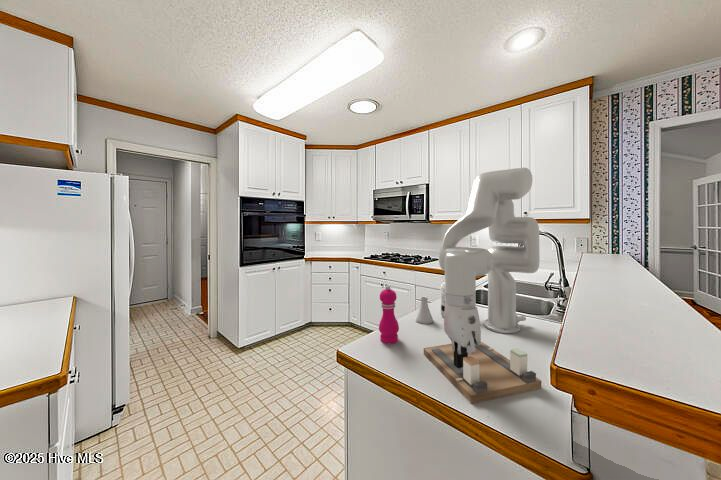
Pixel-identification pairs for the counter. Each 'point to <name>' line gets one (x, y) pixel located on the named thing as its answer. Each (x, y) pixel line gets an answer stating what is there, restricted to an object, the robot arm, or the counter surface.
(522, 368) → the sage-capped tab
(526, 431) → the counter surface
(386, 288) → the pepper mill
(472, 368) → the terracotta-capped tab
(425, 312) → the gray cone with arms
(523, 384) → the wooden board
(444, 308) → the supplement can
